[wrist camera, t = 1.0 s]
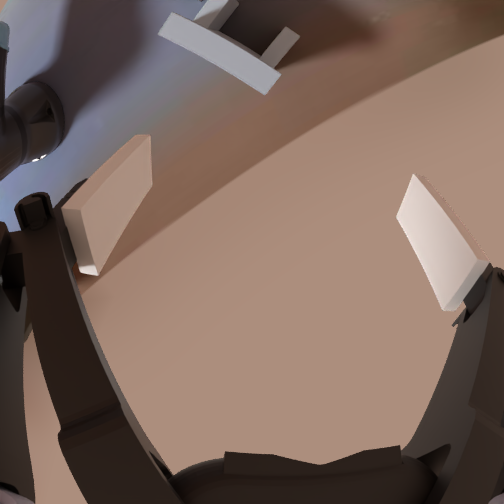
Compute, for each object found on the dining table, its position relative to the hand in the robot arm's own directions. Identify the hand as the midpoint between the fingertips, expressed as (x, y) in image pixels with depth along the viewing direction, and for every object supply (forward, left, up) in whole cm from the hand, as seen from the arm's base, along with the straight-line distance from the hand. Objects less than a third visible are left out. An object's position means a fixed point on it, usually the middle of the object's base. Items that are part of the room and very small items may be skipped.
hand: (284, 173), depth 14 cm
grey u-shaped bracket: (-8, +4, -31) cm, 32 cm away
